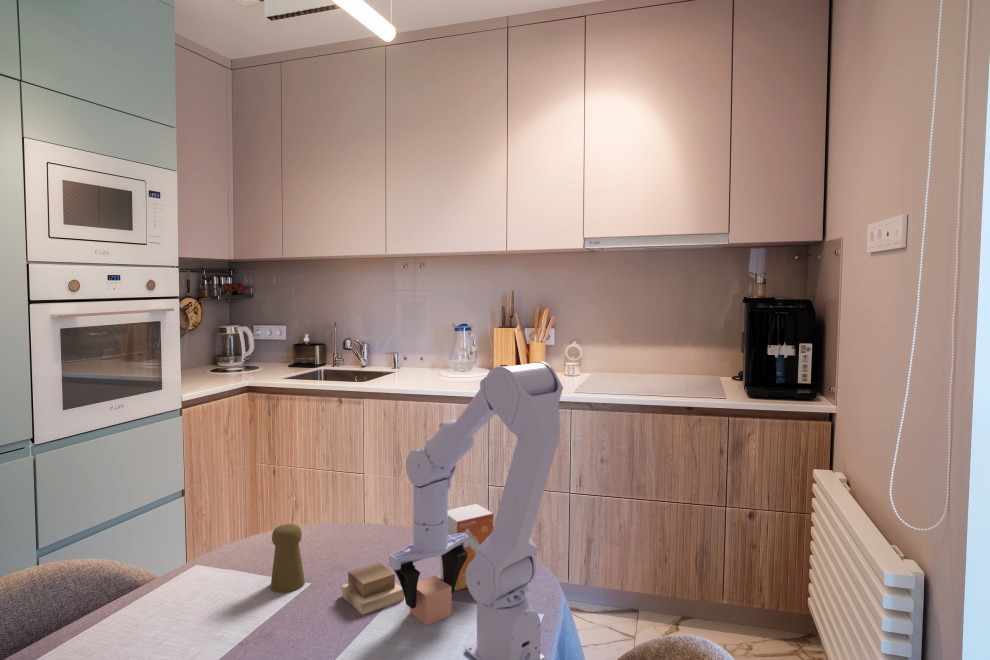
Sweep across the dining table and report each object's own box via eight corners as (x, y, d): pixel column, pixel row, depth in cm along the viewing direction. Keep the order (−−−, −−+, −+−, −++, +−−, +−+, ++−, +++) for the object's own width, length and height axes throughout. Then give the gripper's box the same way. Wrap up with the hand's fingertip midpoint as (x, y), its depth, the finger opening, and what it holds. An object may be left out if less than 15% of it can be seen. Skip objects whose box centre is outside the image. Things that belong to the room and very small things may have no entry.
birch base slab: (404, 602, 106) (404, 588, 105) (362, 618, 101) (362, 603, 100) (381, 585, 112) (381, 572, 112) (341, 599, 107) (341, 585, 107)
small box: (456, 592, 108) (456, 521, 108) (439, 578, 114) (439, 510, 113) (493, 580, 113) (494, 512, 112) (476, 567, 118) (476, 502, 117)
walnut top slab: (394, 587, 106) (394, 574, 106) (363, 598, 102) (363, 584, 102) (378, 575, 110) (378, 562, 110) (348, 585, 107) (348, 571, 107)
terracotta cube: (451, 615, 101) (451, 586, 100) (426, 625, 97) (426, 596, 97) (434, 603, 104) (434, 575, 104) (410, 613, 101) (410, 584, 101)
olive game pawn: (262, 588, 109) (261, 529, 109) (288, 574, 115) (287, 518, 114) (286, 595, 107) (285, 535, 106) (311, 581, 112) (311, 523, 111)
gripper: (452, 503, 108) (451, 576, 108) (379, 522, 98) (380, 602, 99) (476, 514, 102) (475, 591, 103) (402, 535, 93) (402, 620, 94)
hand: (430, 598), depth 101 cm, fingers open, 7 cm apart
